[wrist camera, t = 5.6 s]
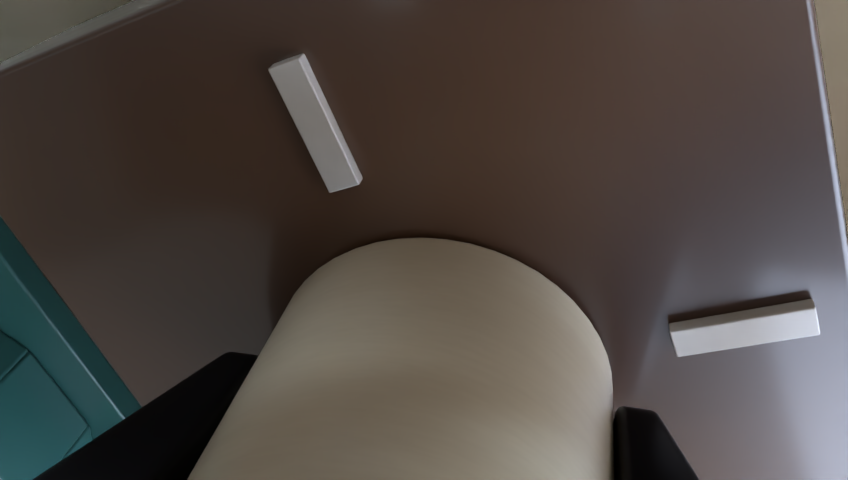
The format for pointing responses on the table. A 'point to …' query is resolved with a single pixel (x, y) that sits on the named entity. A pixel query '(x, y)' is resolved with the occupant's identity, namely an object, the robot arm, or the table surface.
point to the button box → (47, 372)
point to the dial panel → (458, 186)
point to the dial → (422, 376)
